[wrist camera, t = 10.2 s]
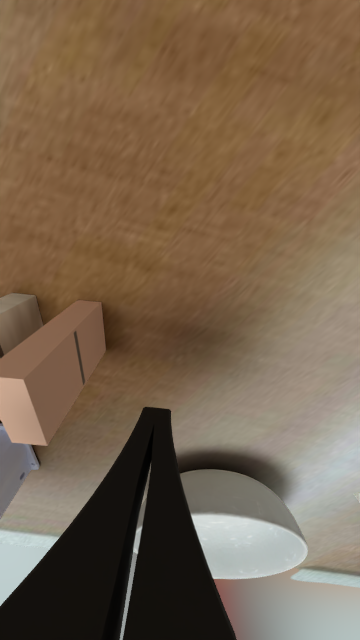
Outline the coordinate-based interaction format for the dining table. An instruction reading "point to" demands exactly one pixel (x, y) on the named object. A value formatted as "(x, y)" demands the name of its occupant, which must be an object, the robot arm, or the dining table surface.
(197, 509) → the serving bowl
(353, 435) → the dining table surface
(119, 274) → the dining table surface
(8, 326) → the domino
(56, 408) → the head domino
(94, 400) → the dining table surface
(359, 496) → the milk
